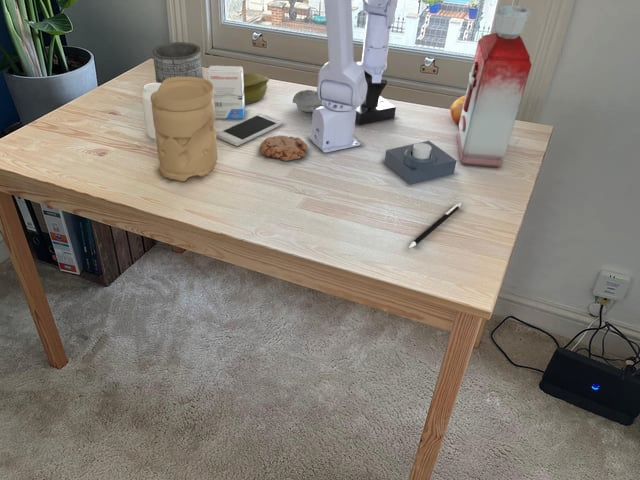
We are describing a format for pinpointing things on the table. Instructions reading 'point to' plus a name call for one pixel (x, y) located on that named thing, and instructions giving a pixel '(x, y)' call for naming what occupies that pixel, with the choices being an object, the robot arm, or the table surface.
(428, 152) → the white short cylinder
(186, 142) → the container
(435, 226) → the pen
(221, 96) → the ink box
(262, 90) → the olive green bowl
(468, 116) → the bottle
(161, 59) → the planter
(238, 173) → the table surface
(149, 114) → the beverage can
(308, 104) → the seashell
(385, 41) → the robot arm
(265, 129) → the smartphone
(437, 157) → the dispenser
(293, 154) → the cookie
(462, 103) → the fruit
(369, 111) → the tap plate
